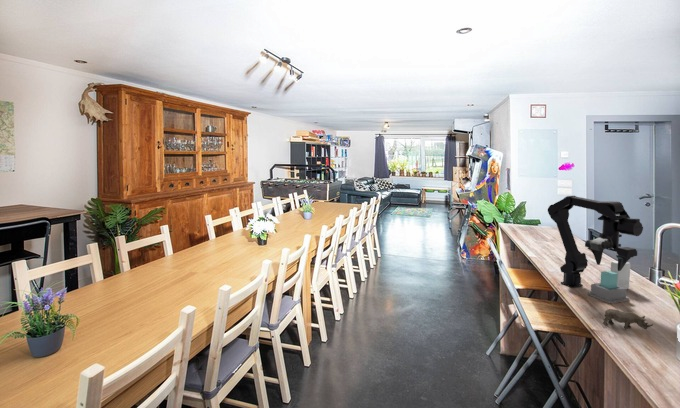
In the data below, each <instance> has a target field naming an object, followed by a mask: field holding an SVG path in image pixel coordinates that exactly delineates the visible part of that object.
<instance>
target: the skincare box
mask: <svg viewBox="0 0 680 408" xmlns="http://www.w3.org/2000/svg"><path fill="white" fill-rule="evenodd" d="M610 271H611V272H614V273H618V276H617V285H618V286H621V287H624V288H627V289H630V275H631V262H628V261H627V263H626V264H625V265H624V267H623V268H622V270H621V271H618V260H616V261H614V260H613V261H611V262H610Z"/></svg>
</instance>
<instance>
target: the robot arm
mask: <svg viewBox="0 0 680 408" xmlns="http://www.w3.org/2000/svg"><path fill="white" fill-rule="evenodd" d="M574 207H579V208H584V209H588V210H593V211H595V212H597V213H598V214H601V215H600V216H598V217H597V220H599V221H602V232H600V233H599V235H598V237H597V238H595V239H590V240H588V239H587V240H586V241H585V243H584V247H585V248H587V250H589V251H590V252H592V255H593V256H594V260H595V263H596V265H598V266H599V265H600V264H601V262H602V258H603V254H604V250H608V251H610V252H611V251H612V252H616V255H615V256H616V258H617V261H618V271H621V270H622V268H623V267H624V265H625V264H626V263H627V262H628V261H629V260H630V259H632V258H634V257H637V256H638V250H637V249H636V248H634V247H629V246H623V247H622V244H621V243H619V242H620V238H622V235H628V236H633V237H639V236H641V234H642V233H643V231H644V227H643V224H642V222H640V221H641V219H640V218H633V217H632V218H631V216H630V215H629V214H628V212H627V211H626V210H625V208H624V205H623V202H620V201H610V200H608V201H605V200H604V201H603V200H602V201H601V200H600V201H599V200H595V199H589V198H584V197H582V196H581V197H580V196H576V195H567V196H565V197H564V198H563V199H560V200H559V201H556V202H555V203H554V204H553V203H552V204H551V205H550V204H549V205H548V208H547V214H548V215H549V216H550V219H551V220H552V221H553V222H554V223H555V224H556V227H557V229H558V232H559V235H560V238H561V242H562V244H563V247H564V249H565V250H564V251H565V256H564V264H563V265H562V266H560V267H559V268H560V272H561V273H563V279H562V280H563V281H560V284H561V285H564V286H568V287H570V288H577V287H583V285H584V284H582V277H581V273H583V272H584V271H585V269H586V268H587V267H588V264H589V263H588V262H589V260H588V258H587V255H586V253H585V252H583V253H582V252H581V251H580V250H579V249H578V246H577V243H576V240H575V237H574V234H573V231H572V229H571V225H570V223H569V217H570V210H572V209H573V208H574Z"/></svg>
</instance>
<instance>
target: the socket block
mask: <svg viewBox="0 0 680 408" xmlns="http://www.w3.org/2000/svg"><path fill="white" fill-rule="evenodd" d="M627 291H628V290H627V288H624V287H621V286H618V285H617V288H615V289H607V288H605V287H602V286H600V282H597V283H590V292H589V291H588V292H587V296H589V297H592V298H595V299H597V300H600V301H603V302H605V303H608V304H616V303H620V302H621V303H623V302H627V301H630V297H627Z"/></svg>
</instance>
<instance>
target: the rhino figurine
mask: <svg viewBox="0 0 680 408" xmlns="http://www.w3.org/2000/svg"><path fill="white" fill-rule="evenodd" d="M645 318H646V316H645V315H643V316H640V315H638V314H636V313H634V312H632V311H631V312H629V311H627V312H625V311H620V310H618V309H614V308H609V309H606V310H605V311H604V318H603V322H602V324H603V325H605V326H609V324H611V325H613V324H615V323H614V322H613V321H615V322H617V323H620V324H624V325H623V327H622V328H623V329H624V330H628V331H629V328H630V329H631V328H632V326H631V325H632V324H637V326H638V327H639V328H642V329H644V330H647V329H648V328H651V327H653V326H654V323H652V324H649V322H645V321H646V319H645Z"/></svg>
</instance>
